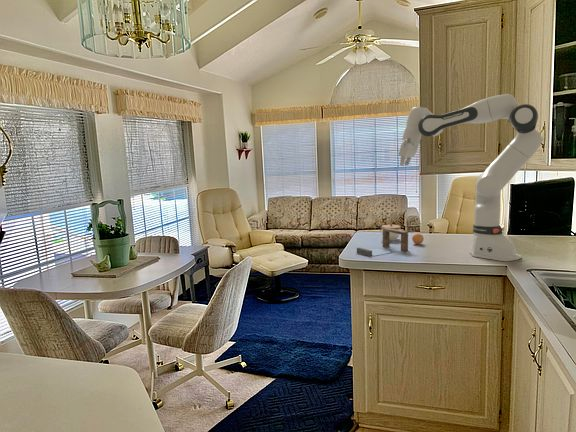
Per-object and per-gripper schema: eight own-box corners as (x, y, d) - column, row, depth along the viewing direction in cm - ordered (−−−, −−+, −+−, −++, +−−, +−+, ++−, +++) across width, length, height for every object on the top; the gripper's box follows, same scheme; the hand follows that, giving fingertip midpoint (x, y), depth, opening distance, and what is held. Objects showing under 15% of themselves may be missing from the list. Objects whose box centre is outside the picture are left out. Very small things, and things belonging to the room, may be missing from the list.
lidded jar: (393, 242, 242) (393, 225, 241) (377, 239, 250) (377, 223, 249) (404, 239, 249) (404, 223, 248) (388, 236, 257) (389, 221, 256)
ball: (425, 244, 235) (426, 233, 234) (418, 245, 232) (418, 234, 231) (417, 242, 240) (417, 231, 239) (409, 243, 237) (409, 233, 236)
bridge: (386, 245, 234) (386, 227, 233) (407, 250, 221) (408, 231, 220) (382, 246, 232) (382, 228, 231) (403, 251, 220) (403, 232, 218)
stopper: (372, 255, 213) (372, 250, 212) (368, 256, 212) (368, 251, 211) (359, 252, 220) (359, 247, 220) (356, 252, 219) (356, 247, 219)
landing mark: (392, 252, 218) (392, 252, 218) (374, 256, 212) (374, 255, 211) (375, 248, 228) (375, 248, 228) (357, 251, 222) (357, 251, 222)
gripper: (412, 139, 210) (404, 167, 214) (421, 140, 228) (414, 166, 231) (399, 136, 213) (392, 164, 217) (410, 137, 231) (403, 163, 234)
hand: (404, 165), depth 224 cm, fingers open, 8 cm apart
